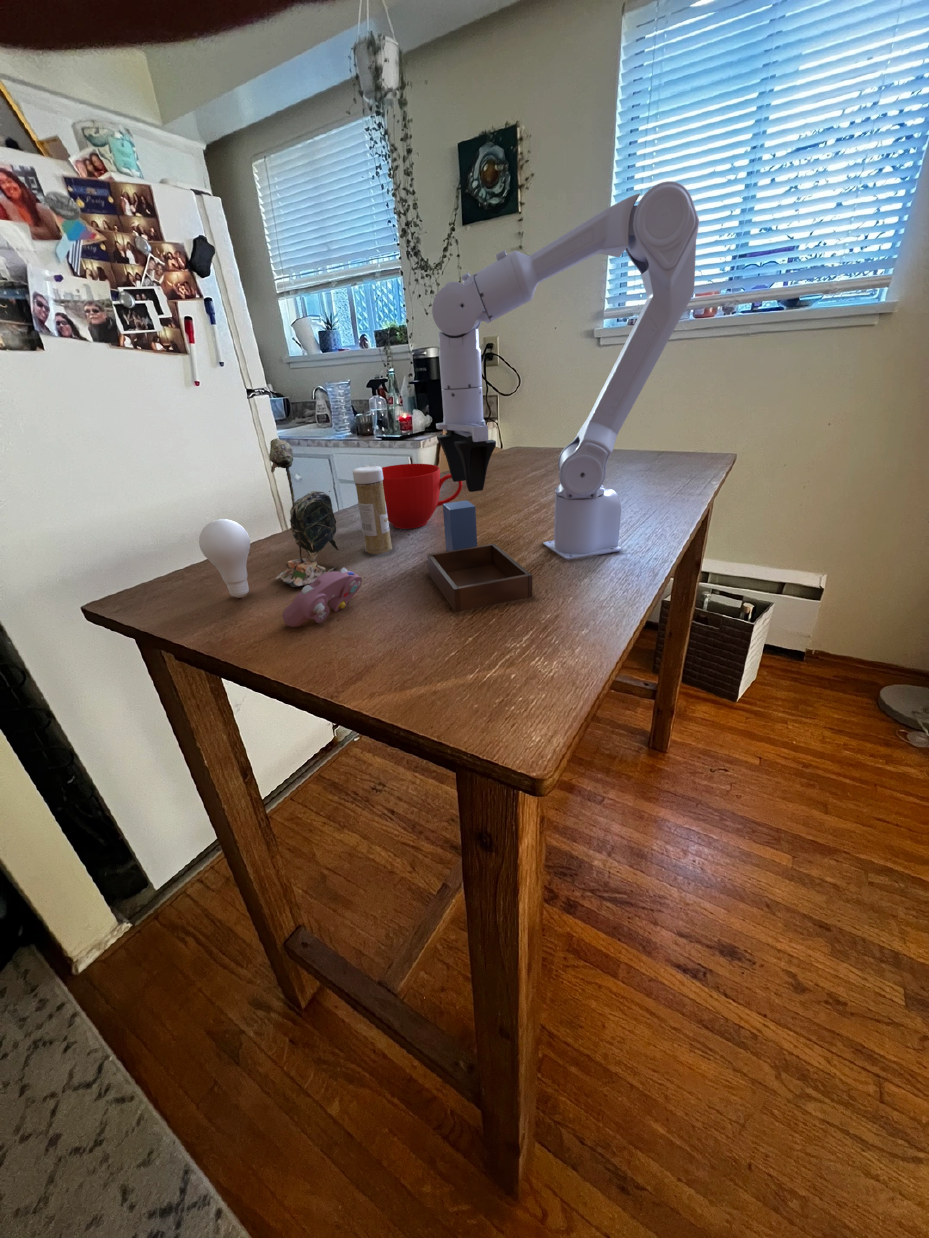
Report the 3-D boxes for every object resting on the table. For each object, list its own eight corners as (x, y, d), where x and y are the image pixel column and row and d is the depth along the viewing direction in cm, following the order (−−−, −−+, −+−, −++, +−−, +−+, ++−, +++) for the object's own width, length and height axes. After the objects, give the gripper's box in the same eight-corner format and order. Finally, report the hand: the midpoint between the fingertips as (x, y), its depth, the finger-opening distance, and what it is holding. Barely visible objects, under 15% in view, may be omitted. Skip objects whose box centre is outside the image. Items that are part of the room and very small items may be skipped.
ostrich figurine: (359, 570, 76) (337, 431, 67) (290, 594, 70) (254, 443, 60) (332, 558, 82) (308, 427, 72) (265, 579, 75) (229, 439, 66)
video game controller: (304, 645, 60) (312, 602, 55) (277, 622, 61) (283, 579, 56) (360, 611, 67) (371, 571, 63) (336, 591, 68) (345, 551, 64)
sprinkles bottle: (397, 551, 83) (386, 467, 76) (372, 557, 81) (359, 472, 74) (385, 544, 86) (374, 464, 80) (360, 550, 84) (347, 468, 78)
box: (495, 564, 75) (494, 543, 73) (532, 599, 64) (532, 574, 62) (429, 576, 72) (426, 554, 71) (456, 614, 61) (454, 589, 60)
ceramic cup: (464, 531, 90) (460, 474, 85) (370, 536, 91) (362, 480, 86) (464, 511, 101) (462, 460, 97) (382, 516, 102) (375, 465, 97)
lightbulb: (219, 611, 66) (193, 530, 61) (216, 594, 71) (191, 518, 66) (267, 599, 68) (246, 521, 63) (261, 584, 73) (241, 510, 68)
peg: (469, 548, 82) (467, 500, 78) (477, 556, 78) (475, 506, 75) (446, 552, 81) (442, 503, 77) (453, 560, 77) (449, 510, 74)
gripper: (421, 388, 75) (429, 480, 82) (449, 392, 63) (456, 499, 69) (465, 384, 77) (470, 474, 83) (501, 387, 65) (504, 492, 71)
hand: (467, 485), depth 77 cm, fingers open, 7 cm apart
